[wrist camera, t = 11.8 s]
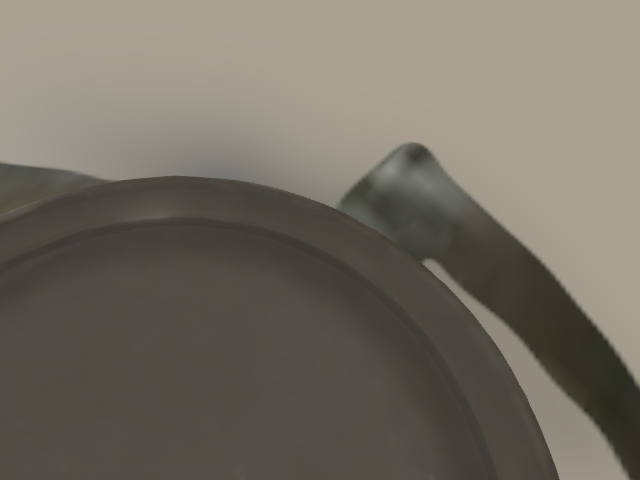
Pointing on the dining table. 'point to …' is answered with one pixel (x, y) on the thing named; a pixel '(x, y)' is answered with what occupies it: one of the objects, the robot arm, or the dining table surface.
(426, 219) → the dining table surface
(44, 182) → the dining table surface
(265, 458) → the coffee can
